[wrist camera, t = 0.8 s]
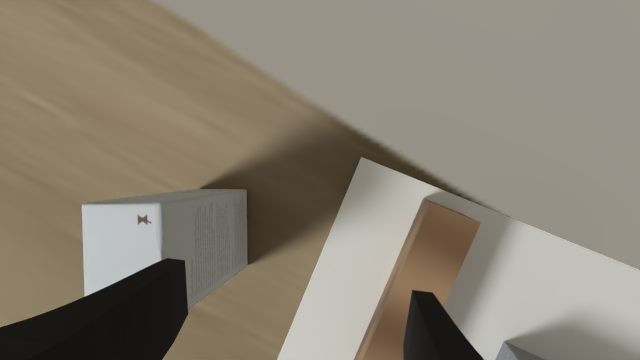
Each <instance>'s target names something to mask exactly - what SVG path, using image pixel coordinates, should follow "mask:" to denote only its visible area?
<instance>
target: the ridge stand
mask: <svg viewBox="0 0 640 360" xmlns="http://www.w3.org/2000/svg"><path fill="white" fill-rule="evenodd" d="M423 198H425V199H427V200H430V201H432V202H434V203H437V204H439V205H442V206H444V207H447V208H449V209H452V210H454V211H456V212H459V213H461V214H464V215H466V216H468V217H470V218H472V219H474V220H476V221H478V222H480V223H481V224H480V226H479V228H478V230H477V233H476V235H475V237H474V239H473V242H472V244H471V246H470V248H469V251H468V253H467V255H466V257H465V260H464V262H463V264H462V266H461V269H460V271H459V273H458V275H457V278H456V280H455V282H454V284H453V287H452V289H451V291H450V293H449V296H448V298H447V300H446V302H445V305H444V309H445V310H446V312H447V313H448V314H449V316H450V317H451V319H452V320H453V321H454V323H455V324H456V325H457V327H458V328H459V329H460V331H461V332H462V333H463V335H464V336H465V337H466V338H467V340H468V341H469V342H470V343H471V345H472V346H473V347H474V348H475V349H476V351H477V352H478V353H479V354H480V355H481V356H482V357H483V359H484V360H640V270H639V269H637V268H634V267H631V266H629V265H627V264H624V263H622V262H619V261H617V260H614V259H612V258H610V257H607V256H605V255H602V254H600V253H597V252H594V251H592V250H590V249H587V248H585V247H582V246H580V245H577V244H575V243H572V242H570V241H567V240H565V239H563V238H560V237H557V236H555V235H553V234H550V233H548V232H545V231H543V230H540V229H538V228H535V227H533V226H531V225H528V224H526V223H523V222H521V221H518V220H516V219H513V218H511V217H508V216H506V215H503V214H501V213H498V212H496V211H494V210H491V209H489V208H486V207H484V206H481V205H479V204H476V203H474V202H471V201H469V200H466V199H464V198H461V197H459V196H456V195H454V194H452V193H449V192H447V191H444V190H442V189H439V188H437V187H434V186H432V185H429V184H427V183H424V182H422V181H419V180H417V179H415V178H412V177H410V176H407V175H405V174H402V173H400V172H397V171H395V170H392V169H390V168H387V167H385V166H382V165H380V164H378V163H375V162H373V161H370V160H368V159H365V158H363V157H361V159H360V161H359V164H358V166H357V168H356V171H355V173H354V176H353V178H352V180H351V183H350V185H349V188H348V190H347V193H346V195H345V197H344V200H343V202H342V205H341V207H340V209H339V212H338V214H337V217H336V219H335V221H334V224H333V226H332V229H331V231H330V234H329V236H328V238H327V241H326V243H325V246H324V248H323V250H322V253H321V255H320V258H319V260H318V262H317V265H316V267H315V270H314V272H313V275H312V277H311V279H310V282H309V284H308V287H307V289H306V291H305V294H304V296H303V299H302V301H301V304H300V306H299V308H298V311H297V313H296V316H295V318H294V320H293V323H292V325H291V328H290V330H289V332H288V335H287V337H286V340H285V342H284V345H283V347H282V349H281V352H280V354H279V357H278V359H277V360H354V358H355V356H356V353H357V351H358V349H359V346H360V344H361V342H362V339H363V337H364V335H365V332H366V330H367V328H368V325H369V323H370V321H371V318H372V316H373V314H374V311H375V309H376V307H377V304H378V302H379V300H380V298H381V295H382V293H383V291H384V288H385V286H386V284H387V281H388V279H389V277H390V274H391V272H392V270H393V267H394V265H395V263H396V260H397V258H398V256H399V253H400V251H401V249H402V246H403V244H404V242H405V239H406V237H407V235H408V232H409V230H410V228H411V226H412V223H413V221H414V219H415V216H416V214H417V212H418V209H419V207H420V205H421V202H422V200H423Z"/></svg>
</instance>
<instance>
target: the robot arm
mask: <svg viewBox="0 0 640 360" xmlns="http://www.w3.org/2000/svg"><path fill="white" fill-rule="evenodd" d="M187 315H188V302H187V285H186V268H185V260H179V259H171V258H166V259H163V260H161V261H159V262H156V263H154V264H152V265H150V266H148V267H146V268H144V269H142V270H140V271H138V272H136V273H134V274H132V275H130V276H128V277H126V278H124V279H122V280H120V281H118V282H115V283H113V284H111V285H109V286H107V287H105V288H103V289H101V290H98V291H96V292H94V293H92V294H90V295H87V296H85V297H83V298H81V299H79V300H76V301H74V302H72V303H69V304H67V305H64V306H62V307H59V308H57V309H54V310H51V311H49V312H46V313H43V314H41V315H38V316H35V317H32V318H29V319H26V320H23V321H20V322H16V323H13V324H10V325H7V326H3V327H0V360H162V359H163V357H164V356H165V354H166V353H167V351H168V350H169V348H170V347H171V345H172V344H173V342H174V341H175V339H176V337H177V335H178V333H179V331H180V329H181V327H182V325H183V323H184V321H185V319H186V317H187ZM403 359H404V360H484V359H483V357H482V356H481V355H480V354H479V353H478V352H477V351H476V349H475V348H474V347H473V346H472V345H471V343H470V342H469V341H468V340H467V338H466V337H465V336H464V335H463V333H462V332H461V331H460V329H459V328H458V327H457V325H456V324H455V323H454V321H453V320H452V319H451V317H450V316H449V314H448V313H447V312H446V310H445V309H444V307H443V306H442V305H441V303H440V302H439V300H438V299H437V297H436V296H435V295H434V293H433V292H425V291H418V290H412V294H411V300H410V306H409V312H408V318H407V324H406V330H405V336H404V342H403Z"/></svg>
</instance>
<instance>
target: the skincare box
mask: <svg viewBox="0 0 640 360" xmlns="http://www.w3.org/2000/svg"><path fill="white" fill-rule="evenodd" d="M82 222H83V257H84V288H85V296H87V295H90V294H92V293H94V292H96V291H98V290H101V289H103V288H105V287H107V286H109V285H111V284H113V283H115V282H118V281H120V280H122V279H124V278H126V277H128V276H130V275H132V274H134V273H136V272H138V271H140V270H142V269H144V268H146V267H148V266H150V265H152V264H154V263H156V262H159V261H161V260H163V259H166V258H171V259H179V260H185V268H186V285H187V302H188V309H189V308H191V307H192V306H193V305H195V304H196V303H197V302H199V301H200V300H202V299H203V298H204V297H206V296H207V295H209V294H210V293H211V292H213V291H214V290H215V289H217V288H218V287H219V286H221V285H222V284H224V283H225V282H226V281H228V280H229V279H230V278H232V277H233V276H235V275H236V274H237V273H239V272H240V271H241V270H243V269H244V268H245V267H246V266H247V265H248V263H247V190H246V189H194V190H186V191H177V192H169V193H160V194H152V195H144V196H136V197H127V198H119V199H112V200H103V201H94V202H87V203H84V204H83V205H82Z"/></svg>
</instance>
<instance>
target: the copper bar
mask: <svg viewBox="0 0 640 360" xmlns="http://www.w3.org/2000/svg"><path fill="white" fill-rule="evenodd" d="M480 224H481V223H480V222H478V221H476V220H474V219H472V218H470V217H468V216H466V215H464V214H461V213H459V212H456V211H454V210H452V209H449V208H447V207H444V206H442V205H439V204H437V203H434V202H432V201H430V200H427V199H425V198H423V200H422V202H421V205H420V207H419V209H418V212H417V214H416V216H415V219H414V221H413V223H412V226H411V228H410V230H409V232H408V235H407V237H406V239H405V242H404V244H403V246H402V249H401V251H400V253H399V256H398V258H397V260H396V263H395V265H394V267H393V270H392V272H391V274H390V277H389V279H388V281H387V284H386V286H385V288H384V291H383V293H382V295H381V298H380V300H379V302H378V304H377V307H376V309H375V311H374V314H373V316H372V318H371V321H370V323H369V325H368V328H367V330H366V332H365V335H364V337H363V339H362V342H361V344H360V346H359V349H358V351H357V353H356V356H355V358H354V360H404V359H403V342H404V336H405V330H406V324H407V318H408V312H409V306H410V300H411V294H412V290H418V291H425V292H433V293H434V295H435V296H436V297H437V299H438V300H439V302H440V303H441V305H442V306H443V307H444V305H445V302H446V300H447V298H448V296H449V293H450V291H451V289H452V287H453V284H454V282H455V280H456V278H457V275H458V273H459V271H460V269H461V266H462V264H463V262H464V260H465V257H466V255H467V253H468V251H469V248H470V246H471V244H472V242H473V239H474V237H475V235H476V233H477V230H478V228H479V226H480Z"/></svg>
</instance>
